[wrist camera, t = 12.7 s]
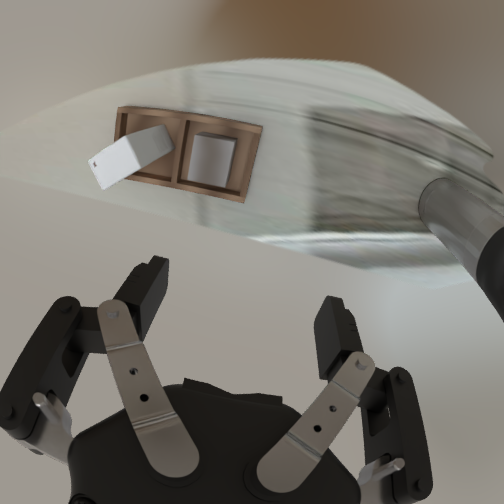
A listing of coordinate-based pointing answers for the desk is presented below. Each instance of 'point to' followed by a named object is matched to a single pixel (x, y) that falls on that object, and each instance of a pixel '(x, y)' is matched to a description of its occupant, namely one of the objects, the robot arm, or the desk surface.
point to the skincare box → (130, 155)
